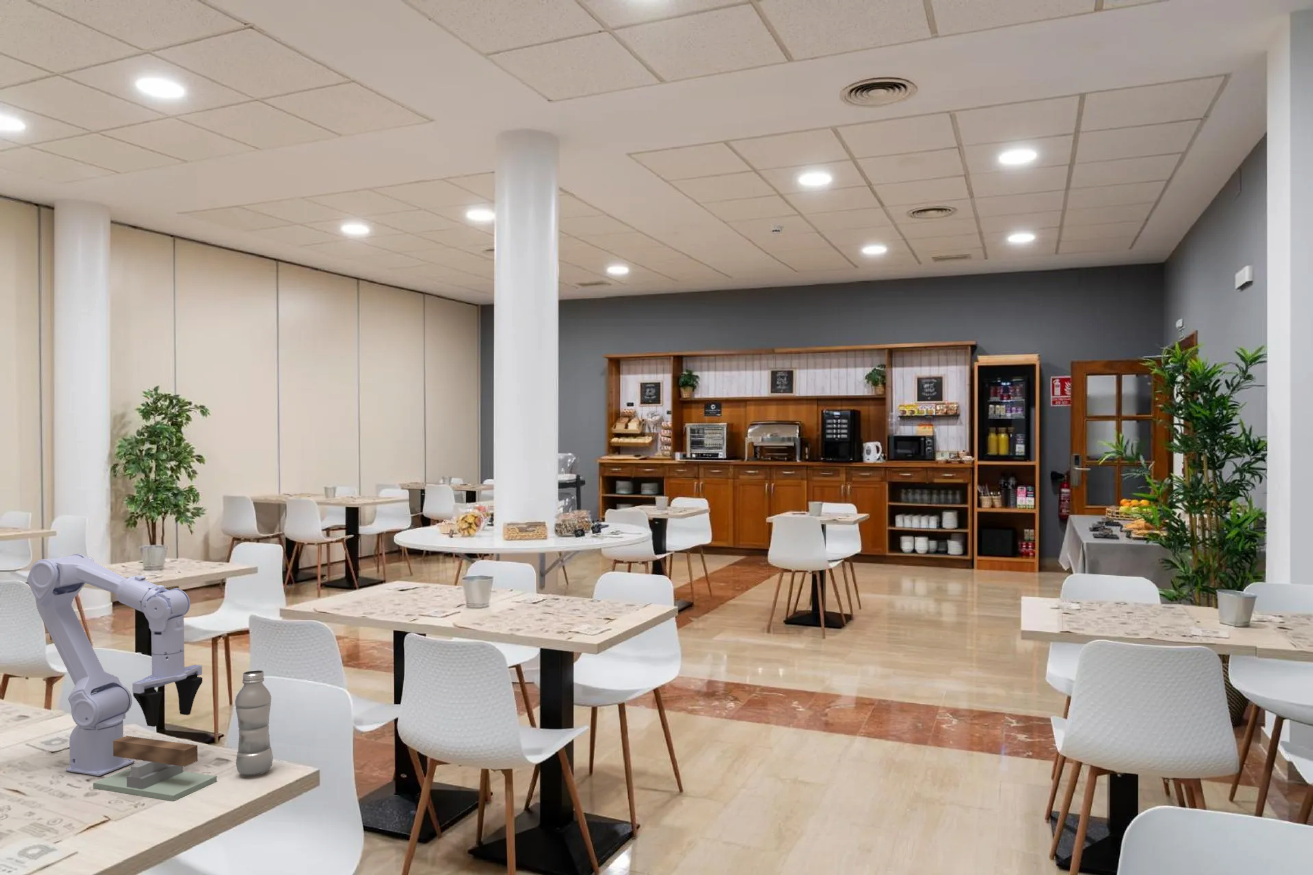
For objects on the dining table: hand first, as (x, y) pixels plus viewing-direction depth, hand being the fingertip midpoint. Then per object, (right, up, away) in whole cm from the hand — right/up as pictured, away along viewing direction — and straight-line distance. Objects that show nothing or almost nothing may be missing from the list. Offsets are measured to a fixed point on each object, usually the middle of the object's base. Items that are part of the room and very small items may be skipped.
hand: (169, 719), depth 179 cm
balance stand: (+1, -10, -7) cm, 12 cm away
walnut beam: (+1, -5, -7) cm, 9 cm away
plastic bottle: (+18, -10, -1) cm, 20 cm away
